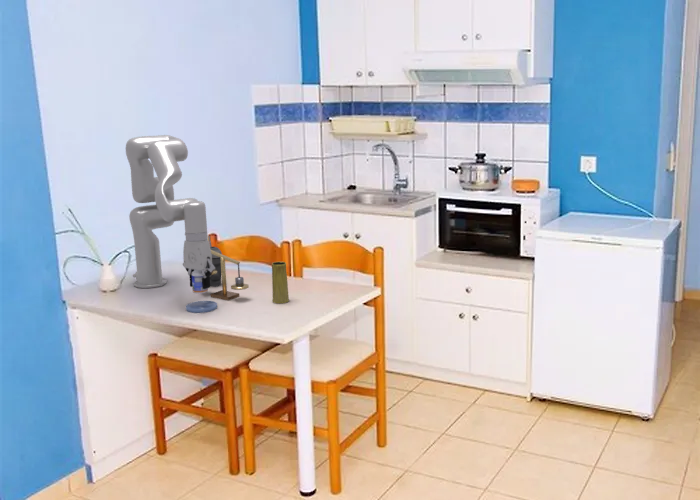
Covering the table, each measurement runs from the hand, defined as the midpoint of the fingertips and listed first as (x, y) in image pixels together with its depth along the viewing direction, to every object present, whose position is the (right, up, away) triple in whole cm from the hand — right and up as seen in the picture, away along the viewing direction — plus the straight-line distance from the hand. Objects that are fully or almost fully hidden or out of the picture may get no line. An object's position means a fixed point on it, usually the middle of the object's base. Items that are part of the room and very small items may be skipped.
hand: (200, 286), depth 271 cm
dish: (0, -8, +2) cm, 8 cm away
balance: (+6, -5, +16) cm, 17 cm away
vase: (+28, -6, +8) cm, 29 cm away
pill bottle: (0, -2, 0) cm, 2 cm away
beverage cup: (0, -1, +32) cm, 32 cm away
